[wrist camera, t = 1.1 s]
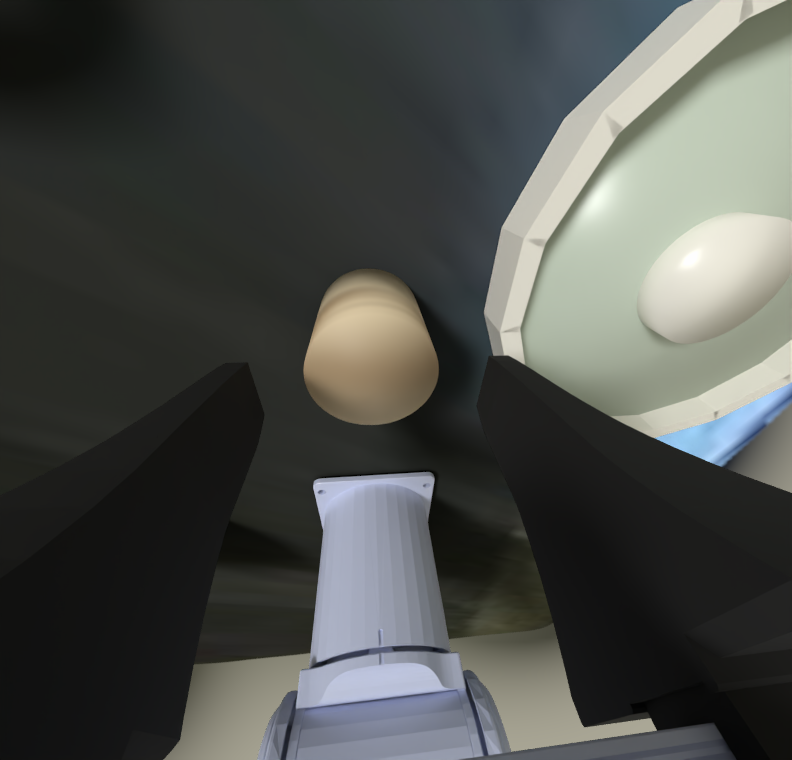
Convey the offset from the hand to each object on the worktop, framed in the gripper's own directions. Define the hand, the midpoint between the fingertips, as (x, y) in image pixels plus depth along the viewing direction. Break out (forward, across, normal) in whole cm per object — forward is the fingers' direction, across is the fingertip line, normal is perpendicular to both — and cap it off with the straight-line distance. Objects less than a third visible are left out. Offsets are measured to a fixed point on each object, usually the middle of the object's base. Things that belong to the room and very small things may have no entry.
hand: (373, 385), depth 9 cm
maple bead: (+5, 0, 0) cm, 5 cm away
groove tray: (+5, -14, -2) cm, 15 cm away
